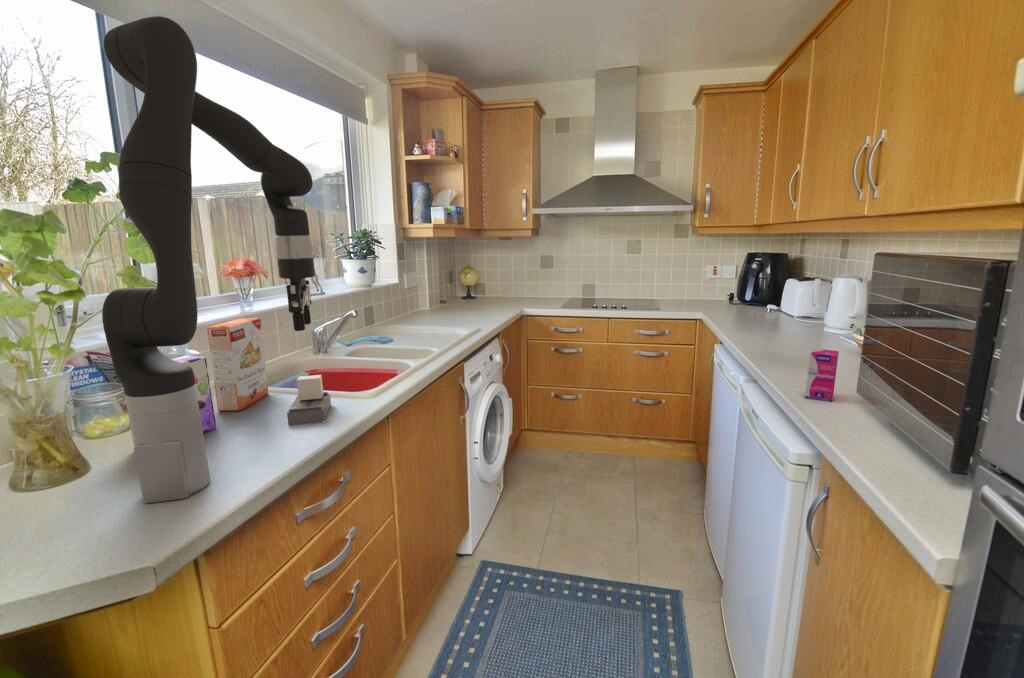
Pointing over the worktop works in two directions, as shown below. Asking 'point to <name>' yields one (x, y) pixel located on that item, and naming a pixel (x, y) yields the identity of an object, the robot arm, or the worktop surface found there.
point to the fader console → (309, 410)
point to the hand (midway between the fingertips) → (303, 327)
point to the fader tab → (310, 387)
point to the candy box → (201, 389)
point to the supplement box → (821, 374)
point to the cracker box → (238, 363)
